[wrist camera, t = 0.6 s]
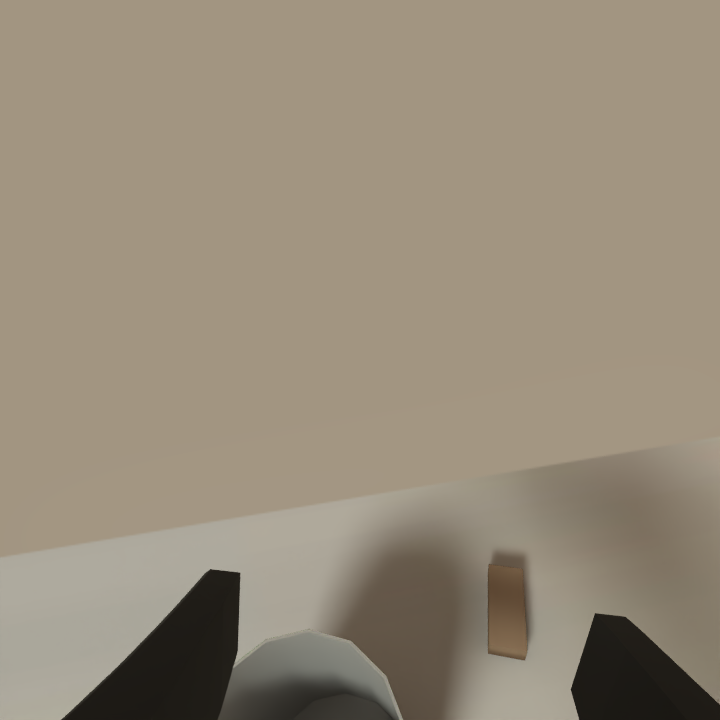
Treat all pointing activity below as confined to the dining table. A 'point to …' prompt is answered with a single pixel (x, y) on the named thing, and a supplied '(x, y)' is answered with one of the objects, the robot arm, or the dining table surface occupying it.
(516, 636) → the pair of brown blocks
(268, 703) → the grey cylinder
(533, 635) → the dining table surface
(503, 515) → the dining table surface
